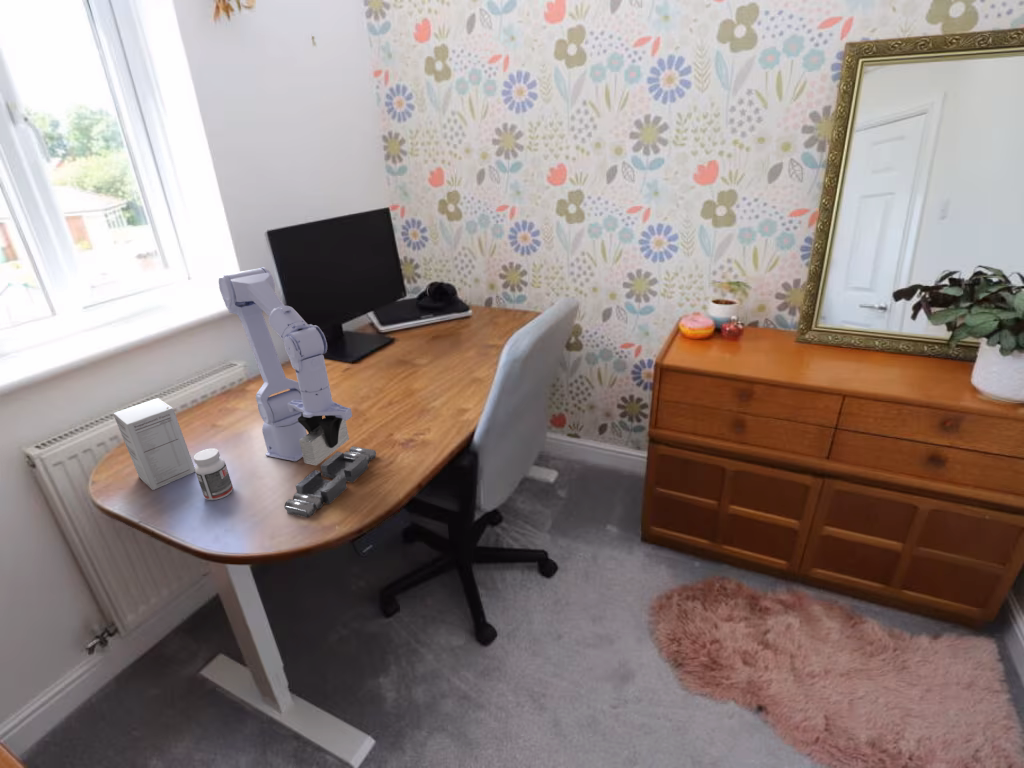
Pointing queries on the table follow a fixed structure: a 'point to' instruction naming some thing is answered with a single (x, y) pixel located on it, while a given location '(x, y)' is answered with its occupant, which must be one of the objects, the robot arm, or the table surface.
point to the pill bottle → (212, 474)
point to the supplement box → (155, 442)
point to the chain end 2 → (348, 463)
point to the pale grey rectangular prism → (320, 444)
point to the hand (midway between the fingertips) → (326, 444)
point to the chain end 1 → (314, 494)
